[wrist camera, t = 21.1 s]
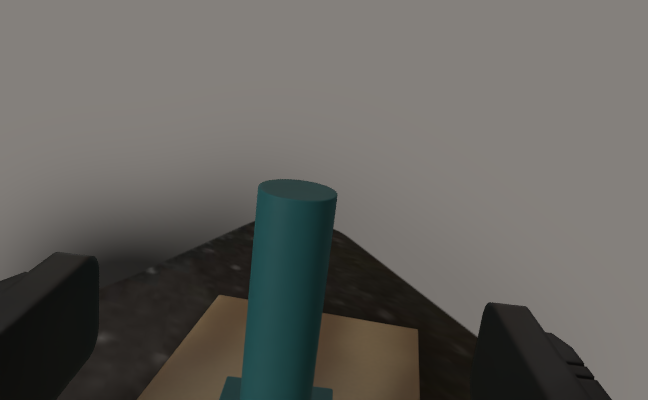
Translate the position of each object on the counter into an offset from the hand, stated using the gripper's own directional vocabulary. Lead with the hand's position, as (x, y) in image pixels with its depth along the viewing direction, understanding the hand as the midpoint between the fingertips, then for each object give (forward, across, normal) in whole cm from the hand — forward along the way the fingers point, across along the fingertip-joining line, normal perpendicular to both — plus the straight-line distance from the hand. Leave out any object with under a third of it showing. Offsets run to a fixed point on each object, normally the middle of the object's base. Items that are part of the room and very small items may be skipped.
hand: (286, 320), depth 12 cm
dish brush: (+10, +1, +12) cm, 16 cm away
